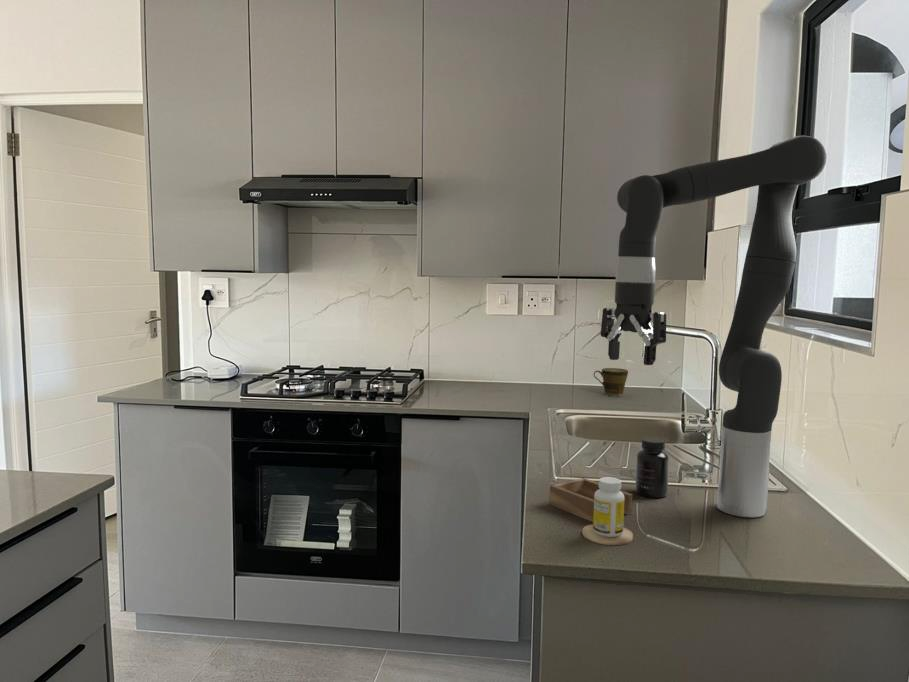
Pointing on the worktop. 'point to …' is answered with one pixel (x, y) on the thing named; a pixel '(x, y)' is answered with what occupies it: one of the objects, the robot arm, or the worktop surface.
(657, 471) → the supplement bottle
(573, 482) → the frame
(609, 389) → the ceramic cup
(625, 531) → the coaster
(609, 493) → the supplement bottle
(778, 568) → the worktop surface
